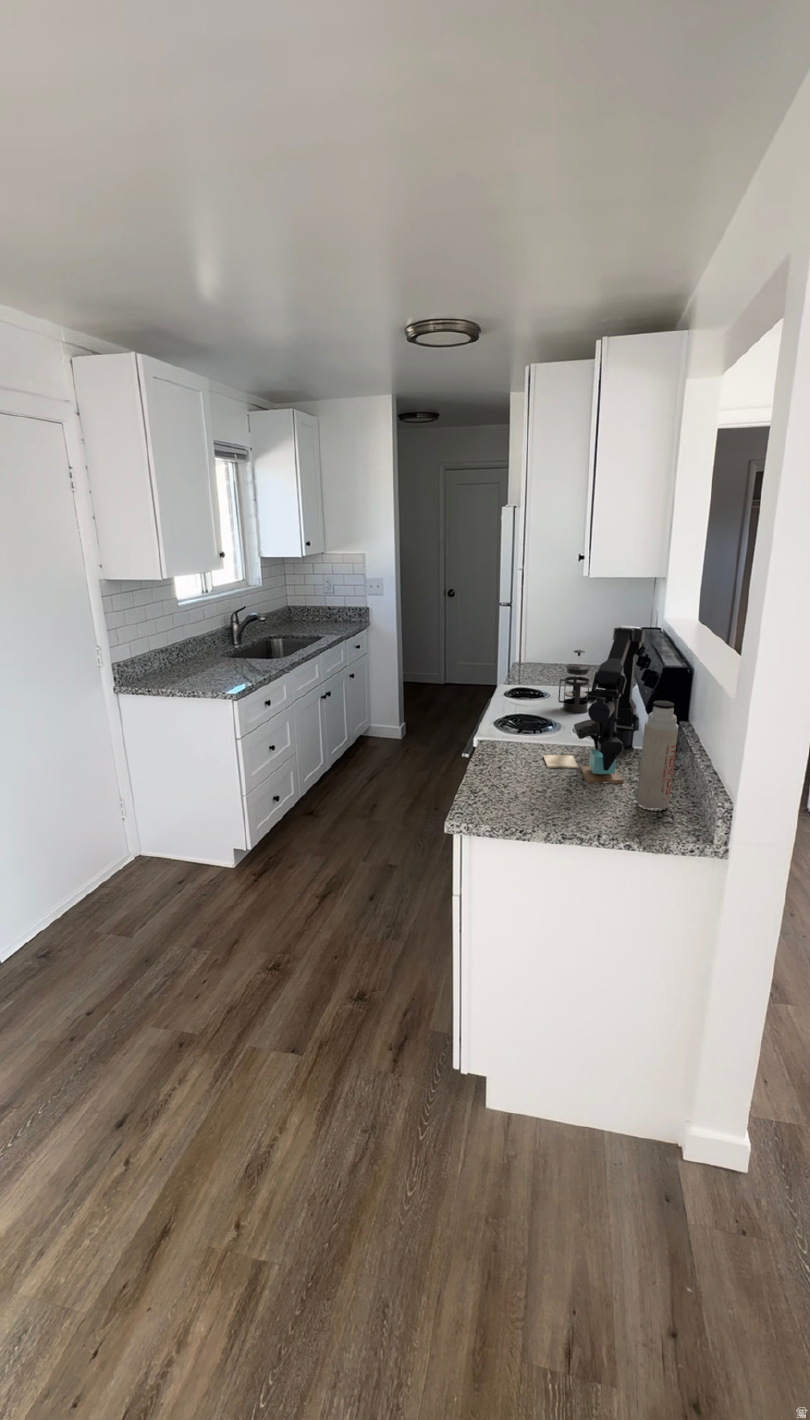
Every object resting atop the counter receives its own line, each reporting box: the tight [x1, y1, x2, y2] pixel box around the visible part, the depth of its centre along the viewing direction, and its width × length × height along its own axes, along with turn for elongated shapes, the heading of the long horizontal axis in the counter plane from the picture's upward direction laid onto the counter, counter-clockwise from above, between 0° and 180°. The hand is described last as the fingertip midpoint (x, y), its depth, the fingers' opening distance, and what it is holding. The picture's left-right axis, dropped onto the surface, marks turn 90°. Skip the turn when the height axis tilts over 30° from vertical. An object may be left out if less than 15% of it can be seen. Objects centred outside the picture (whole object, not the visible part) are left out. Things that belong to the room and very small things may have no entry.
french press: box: [557, 649, 591, 715], centre depth 250 cm, size 12×9×23 cm
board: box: [542, 754, 579, 769], centre depth 203 cm, size 9×9×1 cm
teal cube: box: [588, 749, 617, 774], centre depth 192 cm, size 6×6×5 cm
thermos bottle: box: [636, 700, 680, 808], centre depth 170 cm, size 8×8×28 cm
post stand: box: [579, 765, 624, 784], centre depth 192 cm, size 10×10×6 cm
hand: (602, 764), depth 192 cm, fingers open, 9 cm apart
